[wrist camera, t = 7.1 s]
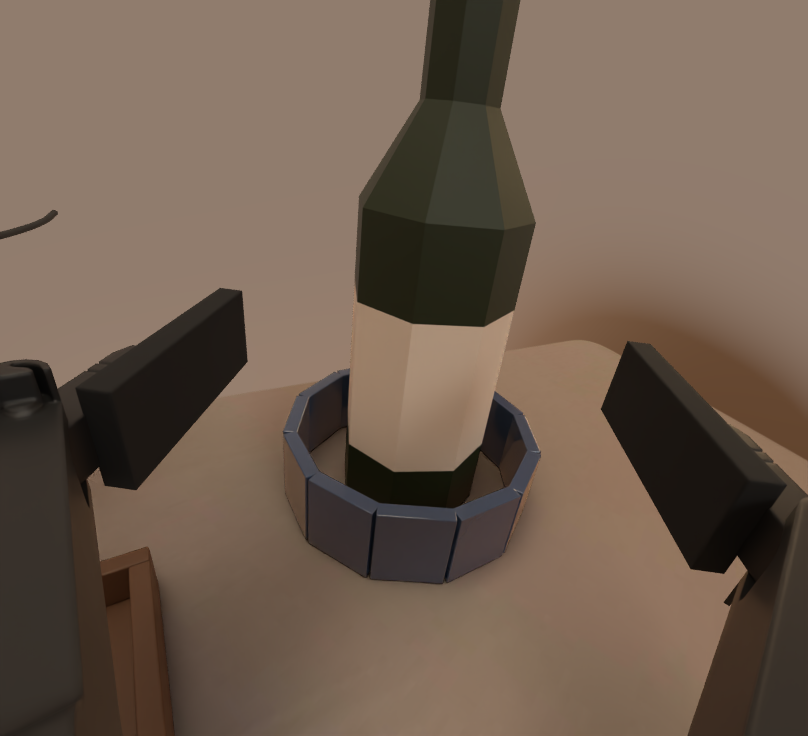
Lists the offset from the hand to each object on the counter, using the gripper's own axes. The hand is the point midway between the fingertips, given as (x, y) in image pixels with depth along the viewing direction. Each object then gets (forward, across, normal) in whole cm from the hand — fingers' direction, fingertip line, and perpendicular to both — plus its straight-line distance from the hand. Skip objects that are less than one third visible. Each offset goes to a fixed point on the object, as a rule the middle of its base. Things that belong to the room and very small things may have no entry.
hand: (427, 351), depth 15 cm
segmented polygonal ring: (+8, 0, -13) cm, 15 cm away
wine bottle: (+8, 0, -13) cm, 15 cm away
